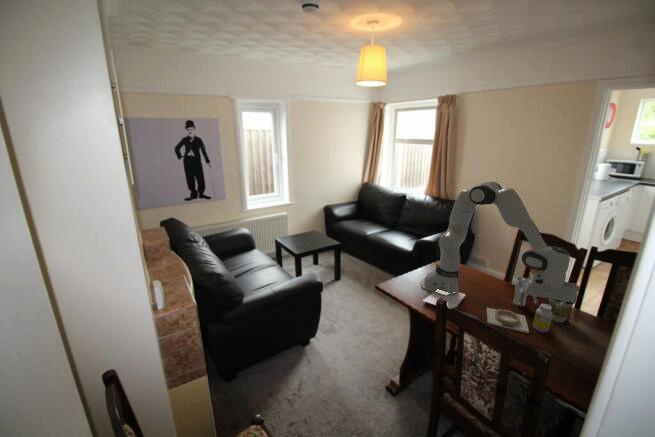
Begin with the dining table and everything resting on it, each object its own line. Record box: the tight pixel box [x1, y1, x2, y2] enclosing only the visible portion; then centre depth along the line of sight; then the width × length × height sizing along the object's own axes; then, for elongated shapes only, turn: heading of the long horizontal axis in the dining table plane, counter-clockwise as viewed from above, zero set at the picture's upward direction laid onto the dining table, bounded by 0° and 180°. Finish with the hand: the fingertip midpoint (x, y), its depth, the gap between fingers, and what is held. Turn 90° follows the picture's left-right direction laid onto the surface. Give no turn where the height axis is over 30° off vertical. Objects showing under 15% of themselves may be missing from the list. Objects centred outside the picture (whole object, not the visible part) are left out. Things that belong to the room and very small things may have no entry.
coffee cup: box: [548, 298, 577, 324], centre depth 155 cm, size 11×11×15 cm
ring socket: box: [486, 307, 530, 334], centre depth 155 cm, size 18×14×3 cm
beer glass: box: [512, 276, 530, 307], centre depth 168 cm, size 7×7×15 cm
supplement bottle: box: [532, 303, 553, 333], centre depth 148 cm, size 7×7×13 cm
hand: (547, 305), depth 146 cm, fingers open, 8 cm apart
